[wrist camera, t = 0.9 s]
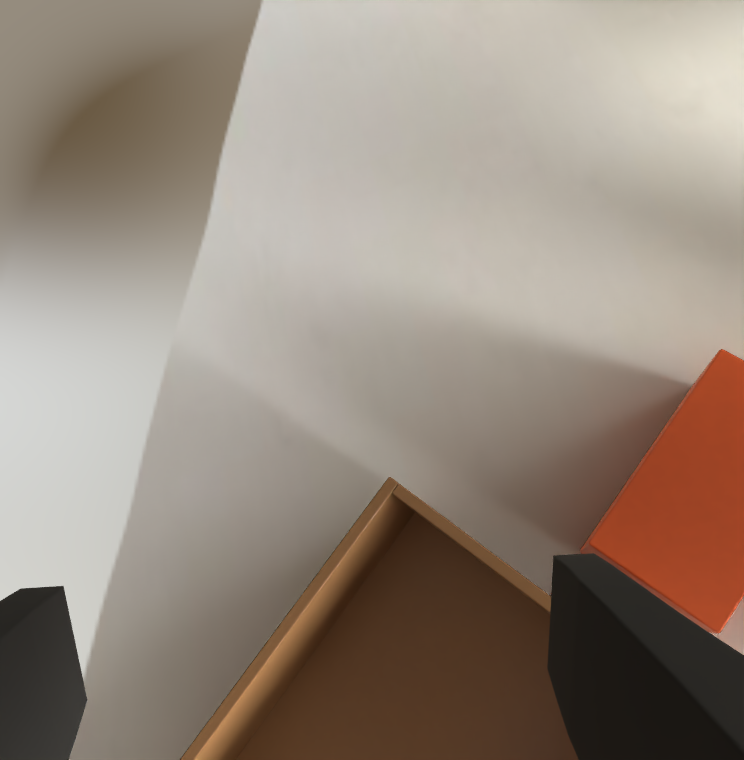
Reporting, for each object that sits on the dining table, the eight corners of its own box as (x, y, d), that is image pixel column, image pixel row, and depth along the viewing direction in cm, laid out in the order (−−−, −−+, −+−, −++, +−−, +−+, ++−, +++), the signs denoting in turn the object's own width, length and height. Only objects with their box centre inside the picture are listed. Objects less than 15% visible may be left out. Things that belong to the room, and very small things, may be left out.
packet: (806, 447, 24) (856, 419, 21) (689, 630, 23) (719, 635, 20) (693, 383, 26) (721, 347, 22) (578, 552, 25) (587, 543, 21)
